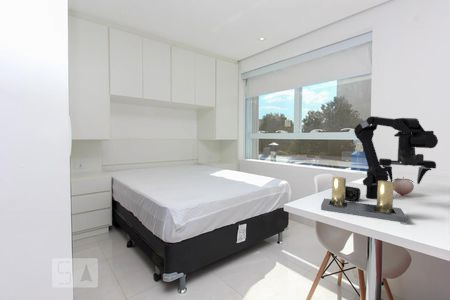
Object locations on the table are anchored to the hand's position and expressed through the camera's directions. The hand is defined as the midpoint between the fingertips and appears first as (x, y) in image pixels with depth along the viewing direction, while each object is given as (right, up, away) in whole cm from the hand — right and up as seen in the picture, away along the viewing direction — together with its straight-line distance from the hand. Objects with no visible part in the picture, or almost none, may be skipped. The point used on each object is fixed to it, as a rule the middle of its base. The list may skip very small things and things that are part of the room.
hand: (404, 182), depth 97 cm
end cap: (-19, -11, +12) cm, 25 cm away
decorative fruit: (+16, -10, +21) cm, 29 cm away
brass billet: (-17, -11, -11) cm, 23 cm away
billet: (-31, -10, -3) cm, 32 cm away
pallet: (-24, -11, -7) cm, 27 cm away
